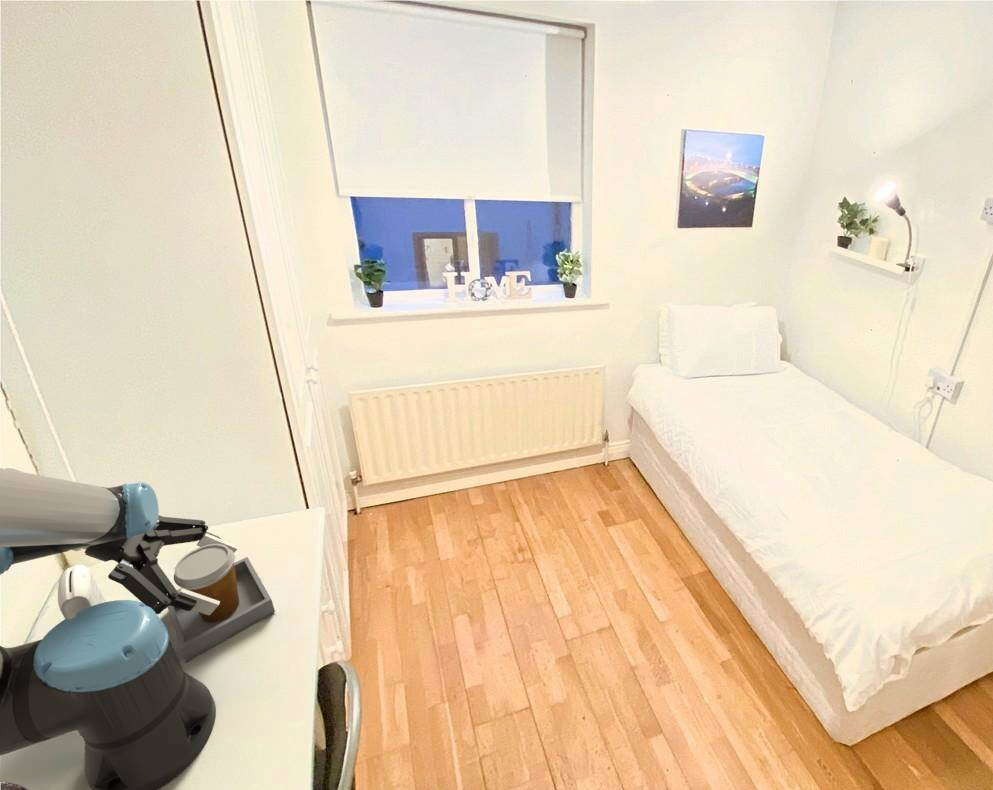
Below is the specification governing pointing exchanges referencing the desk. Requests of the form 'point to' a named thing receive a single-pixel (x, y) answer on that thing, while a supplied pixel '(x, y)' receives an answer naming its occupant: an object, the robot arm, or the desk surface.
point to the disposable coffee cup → (210, 578)
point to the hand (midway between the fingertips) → (225, 578)
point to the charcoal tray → (206, 635)
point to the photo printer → (77, 591)
